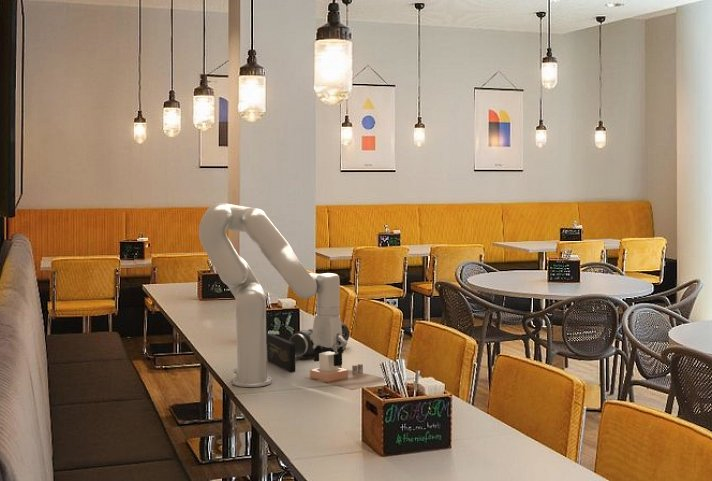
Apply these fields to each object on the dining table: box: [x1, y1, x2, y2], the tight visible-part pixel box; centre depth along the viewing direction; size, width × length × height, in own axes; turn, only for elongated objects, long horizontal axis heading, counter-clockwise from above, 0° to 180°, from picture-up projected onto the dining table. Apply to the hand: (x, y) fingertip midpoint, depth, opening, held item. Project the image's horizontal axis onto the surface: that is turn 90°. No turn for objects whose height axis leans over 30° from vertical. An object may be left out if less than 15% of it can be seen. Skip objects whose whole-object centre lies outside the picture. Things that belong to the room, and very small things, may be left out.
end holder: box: [309, 367, 349, 382], centre depth 292 cm, size 9×9×2 cm
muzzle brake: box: [288, 321, 350, 358], centre depth 335 cm, size 10×28×10 cm, turn 148°
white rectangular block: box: [318, 350, 338, 373], centre depth 292 cm, size 4×4×8 cm
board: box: [304, 363, 386, 391], centre depth 290 cm, size 23×18×4 cm
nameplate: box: [266, 333, 296, 373], centre depth 313 cm, size 21×2×10 cm, turn 28°
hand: (327, 363), depth 292 cm, fingers open, 9 cm apart
